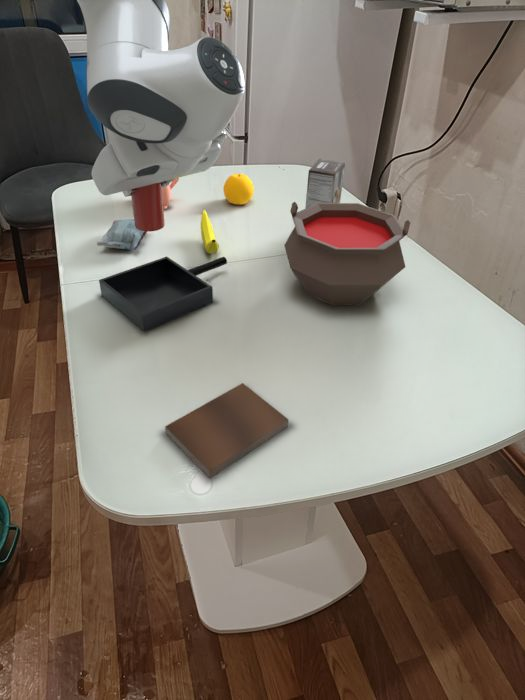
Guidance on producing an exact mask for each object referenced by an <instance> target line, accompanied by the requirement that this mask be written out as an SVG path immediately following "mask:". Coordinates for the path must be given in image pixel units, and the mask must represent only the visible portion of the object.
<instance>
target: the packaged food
mask: <svg viewBox="0 0 525 700" xmlns="http://www.w3.org/2000/svg"><path fill="white" fill-rule="evenodd" d="M147 233H148V231H141V230H138V229H137V228H136V227H135V223H134V218H122V219H120V218H119V219H116V220H113V222H112V225H111V226H110V227H109V229H108V230H107V231H106V233H105V234H104V235H103V236H102V238H101V239H100V240H99V242H98V241H97V242H96V245H97V246H98V247H105V248H110V249H117V250H118V249H119V250H127V251H128V250H129V251H136V250H138V247H139V246H140V244H141V241H143V239H144V237H145V236H146V234H147Z"/></svg>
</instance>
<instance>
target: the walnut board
mask: <svg viewBox="0 0 525 700" xmlns="http://www.w3.org/2000/svg"><path fill="white" fill-rule="evenodd" d="M288 426H289V418H287V417H286V416H285V415H284V414H282V413H281V412H280V411H279V410H277V408H275V407H274V406H272V405H271V404H270V403H269V402H267V401H266V400H265V399H264V398H262V397H261V396H260V395H258V393H256V392H254V390H252V389H251V388H249V386H247V385H246V384H245V383H243V382H242V383H241V384H240V383H239V384H238V385H237V386H235V387H233V388H231V389H229V390H228V391H226V392H224V393H222V394H221V395H219V396H217V397H215V398H213V399H211V400H209V401H208V402H206V403H204V404H203V405H201V406H199V407H197V408H196V409H194V410H192V411H190V412H188V413H187V414H184V415H183V416H181V417H180V418H178V419H176V420H174V421H173V422H171V423H169V424H167V425H165V427H164V428H165V435H166V436H168V437H169V438H170V439H171V441H173V442H174V443H175V444H176V446H177V447H178V448H179V449H180V450H181V451H183V453H184V454H185V455H186V456H187V457H188V458H189V459H190V460H191V461H192V462H193V463H194V464H195V465H196V466H197V467H198V468H199V469H200V470H201V471H202V472H203V473H204V475H206V476H207V478H209V479H211V478H213V477H214V476H216V475H217V474H219V473H220V472H222V471H223V470H225V469H226V468H227V467H229V466H232V464H234V463H235V462H237V461H238V460H240V459H241V458H243V457H244V456H246V455H247V454H248V453H250V452H252V451H253V450H255V449H256V448H258V447H259V446H261V445H262V444H264V443H265V442H267V441H268V440H271V438H273V437H274V436H276V435H278V434H279V433H280V432H282V431H284V430H285V429H287V428H288Z"/></svg>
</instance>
